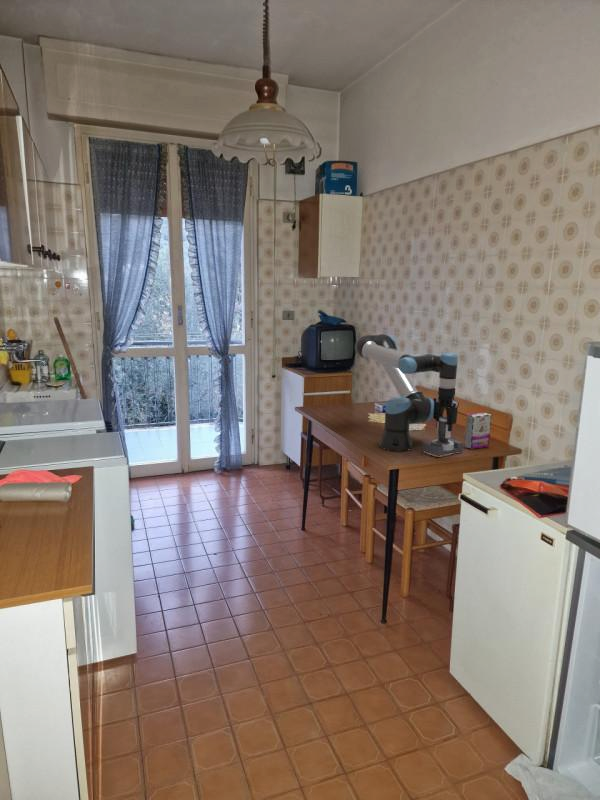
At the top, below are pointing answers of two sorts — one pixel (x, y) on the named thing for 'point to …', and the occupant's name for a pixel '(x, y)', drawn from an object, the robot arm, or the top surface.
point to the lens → (442, 429)
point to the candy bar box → (477, 430)
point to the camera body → (442, 447)
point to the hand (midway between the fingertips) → (443, 436)
